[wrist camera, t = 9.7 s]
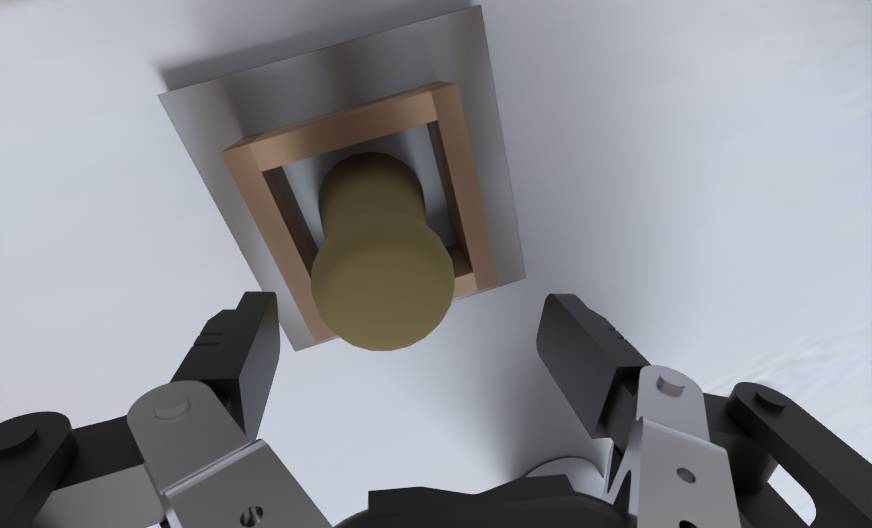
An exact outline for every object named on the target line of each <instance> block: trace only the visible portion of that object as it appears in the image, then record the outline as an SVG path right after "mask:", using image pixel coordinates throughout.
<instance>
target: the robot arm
mask: <svg viewBox="0 0 872 528" xmlns="http://www.w3.org/2000/svg"><path fill="white" fill-rule="evenodd" d="M536 344H537V350H538V353H539V356H540V357H541V359H542V361H543V362H544V364H545V365H546V367H547V369H548V370H549V372H550V373H551V375H552V376H553V378H554V380H555V381H556V383H557V384H558V386H559V388H560V389H561V391H562V392H563V394H564V395H565V397H566V399H567V400H568V402H569V403H570V405H571V407H572V408H573V410H574V411H575V413H576V415H577V416H578V418H579V419H580V421H581V422H582V424H583V426H584V427H585V429H586V430H587V432H588V434H589V435H590V437H591V438H592V439H596V438H611V439H612V440H613V443H612V446H611V449H610V452H609V458H608V464H607V471H606V478H605V479H604V478H602V476H601V475H600V473H599V471H598V470H597V468H596V467H595V466H594V464H592V463H591V462H589V461H587V460H584V459H581V458H562V459H558V460H554V461H551V462H548V463H545V464H543V465H541V466H539V467H538V468H536V469H534V470H533V471H531V472H530V473H529V474H527V475H526V476H525V477H524V478H519V479H516V480H514V481H511V482H508V483H506V484H503V485H500V486H498V487H495V488H493V489H490V490H487V491H485V492H482V493H479V494H465V493H459V492H452V491H446V490H440V489H433V488H427V487H410V488H399V489H387V490H376V491H368V509H367V510H364V511H362V512H359V513H357V514H355V515H353V516H351V517H349V518H347V519H345V520H343V521H342V522H340V523H339V524H337V525H336V526H334V527H332V526H331V524H330V523H329V522H328V521H327V519H326V518H325V517H324V515H323V514H322V513H321V512H320V510H319V509H318V508H317V506H316V505H315V504H314V503H313V501H312V500H311V499H310V497H309V496H308V495H307V494H306V492H305V491H304V490H303V488H302V487H301V486H300V485H299V483H298V482H297V481H296V479H295V478H294V477H293V476H292V474H291V473H290V472H289V471H288V469H287V468H286V467H285V465H284V464H283V463H282V462H281V460H280V459H279V458H278V456H277V455H276V454H275V453H274V451H273V450H272V449H271V447H270V446H269V445H268V444H267V443H266V442H265V441H264V440H262V439H258V440H256V437H257V434H258V430H259V427H260V423H261V420H262V416H263V413H264V409H265V406H266V402H267V399H268V395H269V392H270V388H271V385H272V381H273V378H274V375H275V371H276V368H277V364H278V360H279V354H280V332H279V318H278V305H277V296H276V293H275V292H245V293H244V295H243V297H242V299H241V301H240V302H239V304H238V306H237V308H236V310H222V311H221V312H219V313H218V314H216V315H215V316H214V317H212V318H211V319H209V320H208V321H207V323H206V325H205V326H204V328H203V329H202V331H201V333H200V336H198V338H197V339H196V341H195V342H194V346H193V347H191V349H190V350H189V352H188V354H187V355H186V357H185V359H184V360H183V362H182V363H181V365H180V367H179V368H178V370H177V371H176V373H175V375H174V376H173V378H172V380H171V381H170V383H168V384H165V385H162V386H159V387H157V388H155V389H153V390H151V391H149V392H147V393H146V394H144V395H143V396H141V397H140V398H139V399H138V400H137V401H136V402H135V403H134V404H133V405H132V406H131V408H130V409H129V411H128V414H127V415H125V416H123V417H119V418H116V419H112V420H108V421H104V422H100V423H96V424H92V425H88V426H84V427H80V428H76V429H72V427H71V424H70V421H69V419H68V418H67V417H66V416H65V415H63V414H61V413H57V412H36V413H30V414H25V415H21V416H18V417H15V418H12V419H9V420H6V421H4V422H2V423H0V528H146V527H149V526H152V525H155V524H157V525H158V527H159V528H872V464H871V463H870V462H868V461H867V460H866V459H865V458H863V457H862V456H861V455H860V454H858V453H857V452H856V451H855V450H853V449H852V448H851V447H850V446H848V445H847V444H846V443H845V442H843V441H842V440H841V439H840V438H838V437H837V436H836V435H835V434H833V433H832V432H831V431H830V430H828V429H827V428H826V427H825V426H823V425H822V424H821V423H820V422H819V421H817V420H816V419H815V418H814V417H812V416H811V415H810V414H809V413H807V412H806V411H805V410H804V409H802V408H801V407H800V406H799V405H797V404H796V403H795V402H794V401H792V400H791V399H790V398H788V397H786V396H785V395H783V394H781V393H780V392H778V391H776V390H773V389H771V388H769V387H766V386H763V385H760V384H756V383H751V382H741V383H738V384H736V385H735V387H734V389H733V391H732V393H731V395H730V397H729V398H728V397H723V396H717V395H712V394H707V393H703V392H702V390H701V389H700V387H699V386H698V385H697V384H696V383H695V382H694V381H693V380H692V379H690V378H689V377H687V376H686V375H684V374H682V373H680V372H678V371H676V370H674V369H671V368H668V367H664V366H658V365H651V364H650V363H649V362H648V361H647V360H646V359H645V358H644V357H643V356H642V355H641V354H640V353H639V352H638V351H637V350H636V349H635V348H634V347H633V346H632V345H631V344H630V343H629V342H628V341H627V340H626V339H624V337H623V336H622V335H621V334H620V333H619V332H618V331H616V330H615V328H614V327H613V326H612V325H611V324H610V323H609V322H608V321H607V320H606V319H605V318H604V317H602V316H600V315H599V314H597V313H595V312H594V311H592V310H590V309H589V308H588V307H587V306H586V305H585V304H584V303H583V302H582V301H581V300H580V299H579V298H578V297H577V296H576V295H574V294H549V295H548V296H547V298H546V300H545V304H544V308H543V312H542V316H541V320H540V325H539V329H538V333H537V339H536ZM778 464H780V465H781V466H782V467H783V468H784V469H785V470H786V471H787V472H788V473H789V474H790V475H791V476H792V477H793V478H794V479H795V480H796V481H797V482H798V483H799V484H800V485H801V486H802V487H803V488H804V489H805V490H806V491H807V492H808V494H809V495H810V496H811V498H812V500H813V502H814V504H815V507H816V517H815V519H814V521H813V522H812V524H811V525H810V526H808V525H807V524H806V523H805V522H804V521H803V520H802V519H801V518H800V517H799V515H798V514H797V513H796V512H795V511H794V510H793V509H792V508H791V507H790V506H789V505H788V504H787V503H786V502H785V500H784V499H783V498H782V497H781V496H780V495H779V494H778V493H777V492H776V491H775V490H774V489H773V488H772V487H771V485H770V484H769V483H768V482H767V481H768V480H769V478H770V476H771V475H772V473H773V472H774V470H775V469H776V467H777V466H778Z"/></svg>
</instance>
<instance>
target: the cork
mask: <svg viewBox="0 0 872 528" xmlns="http://www.w3.org/2000/svg"><path fill="white" fill-rule="evenodd" d="M318 209H319V214H320V219H321V224H322V229H323V234H324V239H325V241H324V242H323V243H322V244H321V247H320V249H319V251H318V254H317V256H316V258H315V261H314V263H313V267H312V275H311V293H312V296H313V299H314V302H315V305H316V308H317V310H318V313H319V316H320V318H321V319H322V320H323V322H324V323H325V324H326V325H327V327H328V328H329V329H330V330H331V331H332V333H334V334H336V335H337V336H339V337H340V338H342V339H343V340H345V341H347V342H348V343H350V344H352V345H353V346H357V347H360V348H364V349H367V350H371V351H392V350H396V349H400V348H404V347H408V346H410V345H412V344H414V343H416V342H418V341H420V340H421V339H423V338H425V337H426V336H427V335H428V334H429V333H430V332H431V331H433V330H434V329H435V328H436V327H437V326H438V325H439V324H440V322H441V321H442V320H443V318H444V316H445V314H446V313H447V311H448V309H449V307H450V306H451V302H452V297H453V292H454V287H455V276H454V270H453V263H452V259H451V257H450V255H449V253H448V252H447V250H446V248H445V246H444V244H443V243H442V241H441V239H440V237H439V236H438V235H437V234H436V233H435V232H434V231H433V230H431V229H430V228H429V227H428V225H427V216H426V207H425V199H424V194H423V188H422V185H421V184H420V182H419V180H418V178H417V176H416V174H415V173H414V172H413V171H412V170H411V169H410V168H409V167H408V166H407V165H406V164H405V163H404V162H403V161H401V160H399V159H397V158H395V157H393V156H390V155H388V154H385V153H377V152H364V153H359V154H354V155H351V156H349V157H347V158H345V159H344V160H342V161H340V162H338V163H337V164H336V165H335V166H334V167H333V168H332V169H331V170H330V172H329V173H328V174H327V175H326V176H325V178H324V181H323V183H322V186H321V188H320V191H319V204H318Z"/></svg>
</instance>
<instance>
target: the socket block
mask: <svg viewBox="0 0 872 528" xmlns="http://www.w3.org/2000/svg"><path fill="white" fill-rule="evenodd" d="M157 96H158V97H159V99H160V101H161V103H162V105H163V107H164V109H165V110H166V112H167V114H168V116H169V118H170V120H171V122H172V123H173V125H174V127H175V129H176V131H177V133H178V135H179V136H180V138H181V140H182V142H183V144H184V146H185V148H186V149H187V151H188V153H189V155H190V157H191V159H192V161H193V162H194V164H195V166H196V168H197V170H198V172H199V174H200V176H201V177H202V179H203V181H204V183H205V185H206V187H207V189H208V190H209V192H210V194H211V196H212V198H213V200H214V202H215V203H216V205H217V207H218V209H219V211H220V213H221V215H222V216H223V218H224V220H225V222H226V224H227V226H228V228H229V229H230V231H231V233H232V235H233V237H234V239H235V241H236V242H237V244H238V246H239V248H240V250H241V252H242V254H243V255H244V257H245V259H246V261H247V263H248V265H249V267H250V269H251V270H252V272H253V274H254V276H255V278H256V280H257V282H258V283H259V285H260V287H261V289H262V291H263V292H275V293H276V296H277V305H278V318H279V322H280V324H281V326H282V328H283V330H284V332H285V334H286V335H287V337H288V339H289V341H290V343H291V345H292V347H293V349H294V350H295V351H299V350H302V349H305V348H308V347H311V346H314V345H317V344H321V343H324V342H327V341H330V340H333V339H336V338H339V336H337V335H336V334H334V333H332V331H331V330H330V329H329V328H328V327H327V325H326V324H325V323H324V322H323V320H322V319H321V318H320V316H319V313H318V310H317V308H316V305H315V302H314V299H313V296H312V293H311V275H312V267H313V263H314V261H315V258H316V256H317V254H318V251H319V249H320V247H321V244H322V243H323V242H324V241H325V239H324V234H323V229H322V224H321V219H320V214H319V209H318V204H319V191H320V188H321V186H322V183H323V181H324V178H325V176H326V175H327V174H328V173H329V172H330V170H331V169H332V168H333V167H334V166H335V165H336V164H337V163H338V162H340V161H342V160H344V159H345V158H347V157H349V156H351V155H354V154H359V153H364V152H377V153H385V154H388V155H390V156H393V157H395V158H397V159H399V160H401V161H403V162H404V163H405V164H406V165H407V166H408V167H409V168H410V169H411V170H412V171H413V172H414V173H415V174H416V176H417V178H418V180H419V182H420V184H421V185H422V188H423V194H424V199H425V207H426V216H427V225H428V227H429V228H430V229H431V230H433V231H434V232H435V233H436V234H437V235H438V236H439V237H440V239H441V241H442V243H443V244H444V246H445V248H446V250H447V252H448V253H449V255H450V257H451V259H452V263H453V270H454V276H455V287H454V292H453V297H452V301H455V300H459V299H462V298H465V297H468V296H471V295H474V294H477V293H480V292H484V291H487V290H490V289H493V288H496V287H499V286H502V285H506V284H509V283H512V282H515V281H518V280H521V279H524V278H526V275H525V269H524V263H523V257H522V251H521V245H520V239H519V233H518V227H517V221H516V215H515V209H514V203H513V197H512V191H511V185H510V179H509V173H508V167H507V160H506V154H505V148H504V142H503V136H502V130H501V124H500V118H499V112H498V106H497V100H496V94H495V88H494V82H493V76H492V70H491V64H490V58H489V52H488V45H487V39H486V33H485V27H484V21H483V15H482V9H481V5H477V6H473V7H470V8H466V9H463V10H459V11H456V12H452V13H448V14H445V15H441V16H438V17H434V18H431V19H427V20H423V21H420V22H416V23H413V24H409V25H406V26H402V27H398V28H395V29H391V30H388V31H384V32H381V33H377V34H373V35H370V36H366V37H363V38H359V39H356V40H352V41H348V42H345V43H341V44H338V45H334V46H331V47H327V48H323V49H320V50H316V51H313V52H309V53H306V54H302V55H298V56H295V57H291V58H288V59H284V60H281V61H277V62H273V63H270V64H266V65H263V66H259V67H256V68H252V69H248V70H245V71H241V72H238V73H234V74H231V75H227V76H223V77H220V78H216V79H213V80H209V81H206V82H202V83H198V84H195V85H191V86H188V87H184V88H181V89H177V90H173V91H170V92H166V93H163V94H159V95H157Z"/></svg>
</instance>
